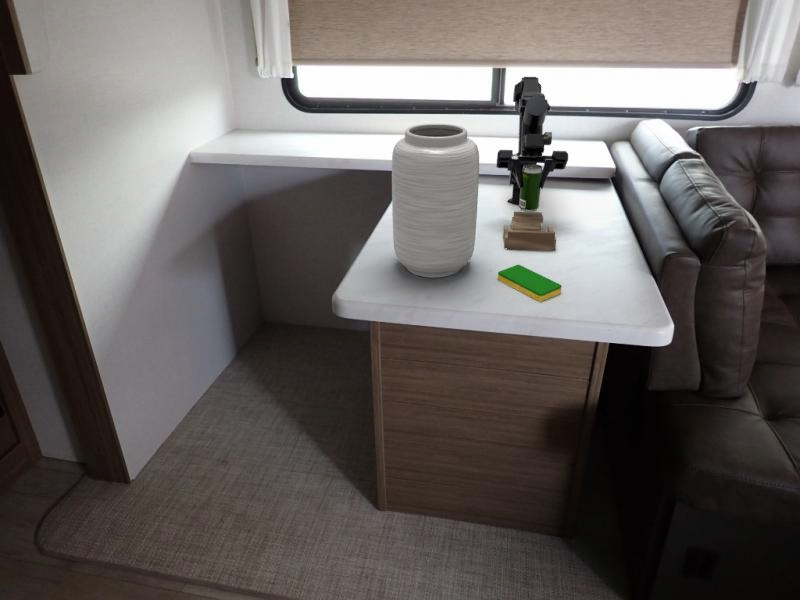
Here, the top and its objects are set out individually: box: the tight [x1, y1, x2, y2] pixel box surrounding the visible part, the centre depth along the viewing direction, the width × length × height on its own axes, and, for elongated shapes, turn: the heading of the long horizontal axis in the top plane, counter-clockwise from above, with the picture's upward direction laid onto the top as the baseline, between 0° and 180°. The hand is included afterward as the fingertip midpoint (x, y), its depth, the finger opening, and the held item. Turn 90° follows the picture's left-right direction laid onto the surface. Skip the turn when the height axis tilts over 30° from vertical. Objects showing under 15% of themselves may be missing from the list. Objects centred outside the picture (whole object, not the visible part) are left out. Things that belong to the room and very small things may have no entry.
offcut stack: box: [510, 211, 544, 231], centre depth 163 cm, size 5×8×4 cm, turn 83°
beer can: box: [518, 163, 543, 212], centre depth 157 cm, size 5×5×12 cm
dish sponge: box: [497, 264, 563, 303], centre depth 134 cm, size 7×14×2 cm, turn 35°
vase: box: [391, 123, 480, 279], centre depth 137 cm, size 20×20×34 cm
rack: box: [502, 224, 557, 252], centre depth 155 cm, size 10×13×5 cm
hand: (531, 187), depth 155 cm, fingers closed on beer can, 5 cm apart
